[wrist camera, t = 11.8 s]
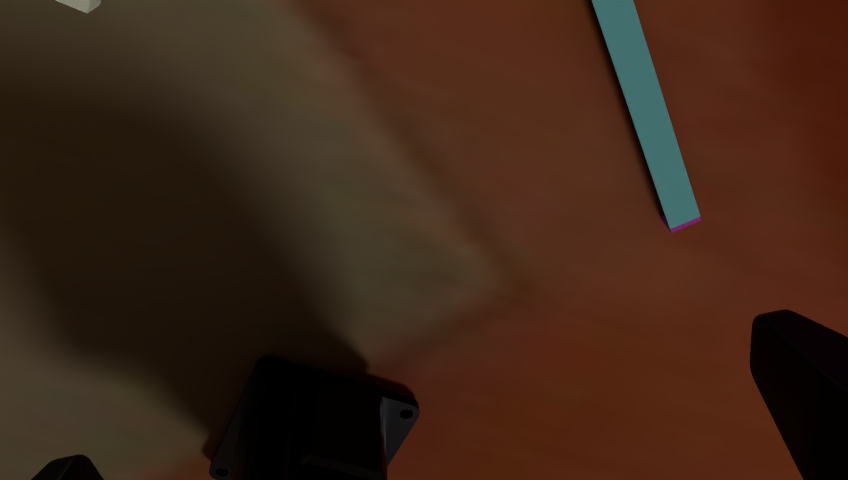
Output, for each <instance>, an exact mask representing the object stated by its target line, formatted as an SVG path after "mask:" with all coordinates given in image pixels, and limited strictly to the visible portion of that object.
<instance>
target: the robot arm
mask: <svg viewBox="0 0 848 480" xmlns="http://www.w3.org/2000/svg"><path fill="white" fill-rule="evenodd" d="M265 369H271V370H273V372H266V371H264V370H265ZM750 369H751V373H752V376H753V379H754V381H755V383H756V385H757V387H758V389H759V391H760V393H761V395H762V397H763V399H764V401H765V403H766V405H767V407H768V409H769V411H770V413H771V415H772V418H773V420H774V422H775V424H776V426H777V428H778V430H779V432H780V434H781V436H782V438H783V440H784V442H785V444H786V446H787V448H788V450H789V452H790V454H791V456H792V458H793V460H794V462H795V464H796V466H797V468H798V470H799V472H800V474H801V476H802V478H803V480H848V337H846V336H844V335H842V334H840V333H838V332H836V331H834V330H832V329H829V328H827V327H825V326H823V325H821V324H819V323H817V322H815V321H813V320H810V319H808V318H806V317H804V316H802V315H800V314H798V313H796V312H793V311H791V310H778V311H773V312H768V313H763V314H759V315H757V316H756V317H755V318H754V320H753V324H752V334H751V349H750ZM405 409H409V411H402V410H405ZM418 417H419V405H418V402H417V401H416V400H415V399H413V398H411V397H407V396H404V395H400V394H397V393H394V392H390V391H387V390H384V389H380V388H377V387H373V386H370V385H367V384H363V383H360V382H356V381H353V380H350V379H346V378H343V377H340V376H336V375H333V374H329V373H326V372H323V371H319V370H316V369H313V368H309V367H306V366H302V365H299V364H296V363H292V362H289V361H285V360H282V359H279V358H275V357H270V356H267V357H262V358H260V359H259V360H258V361H257V362H256V364H255V366H254V368H253V371H252V373H251V375H250V377H249V379H248V382H247V384H246V386H245V388H244V390H243V393H242V395H241V397H240V399H239V401H238V404H237V406H236V408H235V410H234V412H233V415H232V417H231V419H230V421H229V423H228V426H227V428H226V430H225V432H224V435H223V437H222V439H221V441H220V443H219V446H218V448H217V450H216V452H215V454H214V457H213V459H212V461H211V465H210V469H209V474H210V476H211V477H212V478H214V479H216V480H387V466H388V465H389V463H390V462H391V460H392V458H393V457H394V455H395V454H396V452H397V450H398V449H399V447H400V446H401V444H402V442H403V441H404V439H405V438H406V436H407V435H408V433H409V431H410V430H411V428H412V427H413V425H414V423H415V422H416V420H417V419H418ZM223 468H225V469H223ZM31 480H104V479H103V478H102V476H101V475H100V473H99V472H98V471H97V469H96V468H95V466H94V465H93V463H92V462H91V460H90V459H89V458H88V457H86V456H84V455H73V456H69V457H64V458H59V459H56V460H53V461H51V462H49V463H48V464H47V465H46V466H45V467H44V468H43V469H42V470H41V471H40V472H39V473H38V474H37V475H36V476H35V477H33V478H32V479H31Z"/></svg>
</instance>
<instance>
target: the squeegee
mask: <svg viewBox="0 0 848 480" xmlns="http://www.w3.org/2000/svg"><path fill="white" fill-rule="evenodd" d="M591 1H592V4H593V7H594V10H595V12H596V15H597V18H598V21H599V24H600V27H601V30H602V33H603V36H604V39H605V42H606V45H607V48H608V50H609V53H610V56H611V59H612V62H613V65H614V68H615V71H616V74H617V77H618V80H619V83H620V85H621V88H622V91H623V94H624V97H625V100H626V103H627V106H628V109H629V112H630V115H631V118H632V121H633V123H634V126H635V129H636V132H637V135H638V138H639V141H640V144H641V147H642V150H643V153H644V156H645V158H646V161H647V164H648V167H649V170H650V173H651V176H652V179H653V182H654V185H655V188H656V191H657V194H658V196H659V199H660V202H661V205H662V208H663V211H664V214H665V215H663V216H661V220H662V221H663V223H664V224H665V225H666V227H667V228H668V229H669V230H670V232H671V233H673V232H675V231H677V230H680V229H682V228H684V227H687V226H689V225H691V224H694V223H696V222H698V221H701V217H700V214H699V211H698V208H697V204H696V201H695V198H694V195H693V192H692V188H691V185H690V182H689V179H688V175H687V172H686V169H685V166H684V163H683V159H682V156H681V153H680V150H679V147H678V143H677V140H676V137H675V134H674V131H673V127H672V124H671V121H670V118H669V114H668V111H667V108H666V105H665V102H664V98H663V95H662V92H661V89H660V86H659V82H658V79H657V76H656V73H655V69H654V66H653V63H652V60H651V57H650V53H649V50H648V47H647V44H646V41H645V37H644V34H643V31H642V28H641V24H640V21H639V18H638V15H637V12H636V8H635V5H634V2H633V0H591Z"/></svg>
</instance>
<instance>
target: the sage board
mask: <svg viewBox="0 0 848 480" xmlns="http://www.w3.org/2000/svg"><path fill="white" fill-rule="evenodd" d="M56 1H58V2H61V3H63V4H65V5H68V6H70V7H73V8H75V9H78V10H80V11H82V12H85V13H89V12H90V11H92V10H93V9H95V8H96V7H98V6H99V5H100V3H101V0H56Z"/></svg>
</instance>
